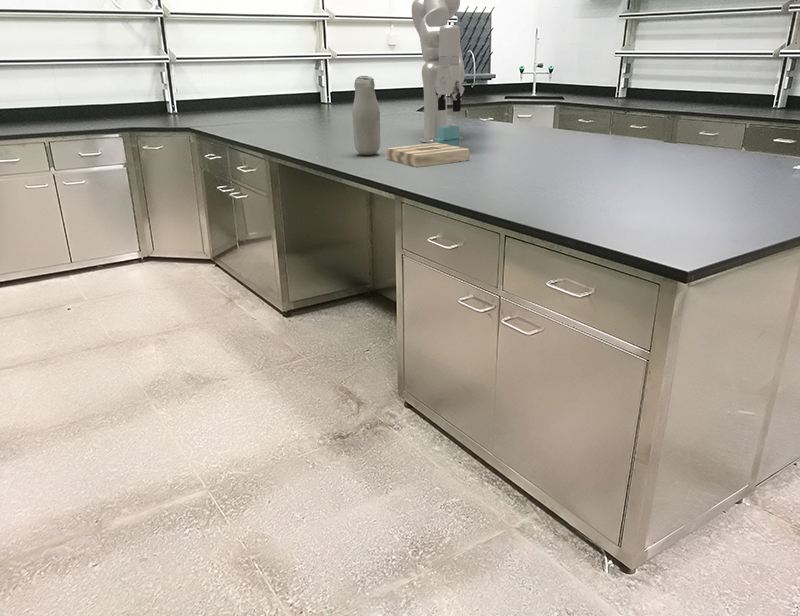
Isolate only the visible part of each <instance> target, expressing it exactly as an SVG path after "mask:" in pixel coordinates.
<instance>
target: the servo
mask: <svg viewBox="0 0 800 616" xmlns="http://www.w3.org/2000/svg"><path fill="white" fill-rule="evenodd" d="M464 139H465V138H464V137H463V136H460V126H458V125H457V123H449V125H447V126H441V127H438V138H437V139H433V141H435V142H438V143H442V144H447V145H452V146H457V147H460V141H463V140H464Z"/></svg>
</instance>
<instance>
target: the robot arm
mask: <svg viewBox="0 0 800 616" xmlns="http://www.w3.org/2000/svg"><path fill="white" fill-rule="evenodd" d="M460 6H461V0H414V1H413V2H412V4H411V18H412V19H411V20H412V22H413V25H414V28H415V30H416V32H417V34H418V37H419V41H420V48H421V49H420V50H421V55H422V58H423V61H424V62H425V63H424V64H423V66H421V67H422V68H421V79H422V85H423V123H424V125H423V126H424V127H423V130H422V131H421V133H420V134H421V135H423V137H420V142H422V143H425V144H430V143H438V142H435V141H433V139H437V138H438V127H441V126H448V125H447V124H448V122H447V121H448V97H447V96H448V95H449V96H450V95H451V96H452V98H453V100H452V113H453V112H454V113H456V112H461V111H462V110H461V106H462V105H461V103H462V99H463V95H464V91H465V87H464V86H463V85H462V83H464V80H465V75H466V72H465V65H464V60H463V54H462V53H463V52H462V49H461V30H460V29H461V28H460V26H459V25H456V24H447V23H448V21H449V20H450V19H452V18H454V16H455V15H456V14H457V12H458V11H459V9H460Z"/></svg>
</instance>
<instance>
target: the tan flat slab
mask: <svg viewBox="0 0 800 616" xmlns="http://www.w3.org/2000/svg"><path fill="white" fill-rule="evenodd" d="M470 154H471V153H470V148H466V147H460V146H459V147H457V146H452V145H447V144H442V143H423V144H414V145H413V144H412V145H405V146H404V145H403V146H396V147H395V146H394V147H387V148H386V160H389V161H393V162H396V163H400V164H404V165H407V166H410V167H413V168H414V167H415V168H420V167H429V166H435V165H443V164H445V165H446V164H451V163H452V162H453V163H459V161H461V162H467V161H466V160H469V161H470Z"/></svg>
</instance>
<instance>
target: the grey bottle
mask: <svg viewBox="0 0 800 616" xmlns="http://www.w3.org/2000/svg"><path fill="white" fill-rule="evenodd" d="M375 86H376V85H375V79H374V78H373V77H372V76H369V75H360V76H357V77H356V78H355V79H354V99H353V104H352V109H351V111H352V114H351V118H352V127H353V140H354V142H353V143H354V147H355V150H356V152H357V153H359V154H360V155H363V156H373V155H375V154H377V153H378V152H379V150H380V148H381V115H380V114H381V113H380V107H379V102H378V100H377V96H376V92H375Z"/></svg>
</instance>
